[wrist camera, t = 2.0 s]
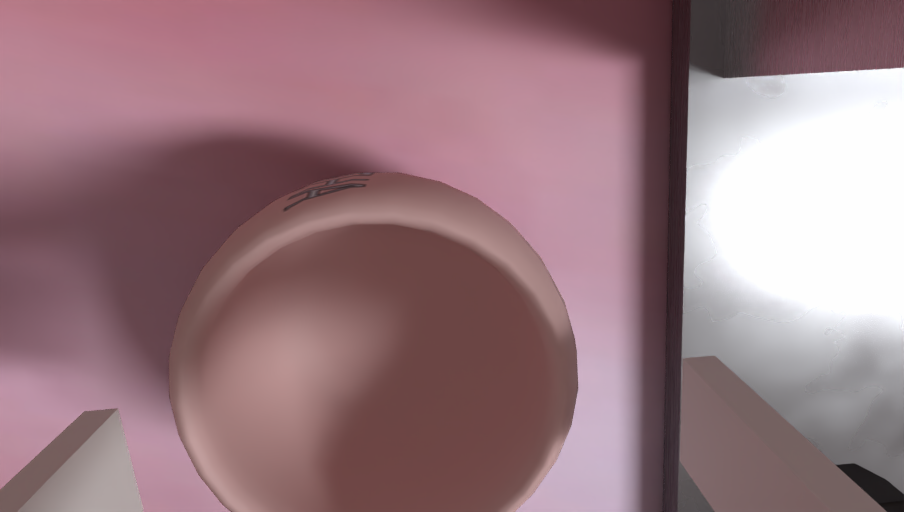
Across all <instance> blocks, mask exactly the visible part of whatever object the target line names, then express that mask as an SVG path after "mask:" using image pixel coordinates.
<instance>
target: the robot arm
mask: <svg viewBox="0 0 904 512" xmlns="http://www.w3.org/2000/svg"><path fill="white" fill-rule="evenodd" d="M680 462H681V464H682V465H683V466H684V468H685V469H686V471H687V472H688V474H689V475H690V477H691V478H692V479H693V481H694V482H695V484H696V485H697V487H698V488H699V490H700V491H701V492H702V494H703V495H704V497H705V498H706V500H707V501H708V503H709V504H710V506H711V507H712V508H713V510H714V511H715V512H904V494H903V493H902V492H900V491H899V490H898V489H897V488H896V487H895V486H893V485H892V484H891V483H890V482H889V481H887V480H886V479H884V478H882V477H880V476H878V475H876V474H875V473H873V472H871V471H869V470H867V469H865V468H863V467H861V466H859V465H857V464H855V463H851V464H840V465H835V464H834V463H833V462H832V461H831V460H829V459H828V458H827V457H826V456H825V455H824V454H823V453H822V452H821V451H820V450H818V449H817V448H816V447H815V446H814V445H813V444H812V443H811V442H810V441H808V440H807V439H806V438H805V437H804V436H803V435H802V434H801V433H800V432H799V431H797V430H796V429H795V428H794V427H793V426H792V425H791V424H790V423H789V422H788V421H786V420H785V419H784V418H783V417H782V416H781V415H780V414H779V413H778V412H777V411H775V410H774V409H773V408H772V407H771V406H770V405H769V404H768V403H767V402H766V401H764V400H763V399H762V398H761V397H760V396H759V395H758V394H757V393H756V392H755V391H753V390H752V389H751V388H750V387H749V386H748V385H747V384H746V383H745V382H744V381H742V380H741V379H740V378H739V377H738V376H737V375H736V374H735V373H734V372H733V371H731V370H730V369H729V368H728V367H727V366H726V365H725V364H724V363H723V362H721V361H720V360H719V359H718V358H717V357H716V356H704V357H692V358H683V362H682V397H681V432H680ZM0 512H143V506H142V502H141V498H140V494H139V490H138V486H137V482H136V478H135V474H134V470H133V466H132V462H131V458H130V454H129V450H128V446H127V442H126V438H125V434H124V430H123V426H122V422H121V418H120V414H119V410H118V409H106V410H95V411H84V412H83V413H82V414H81V415H80V416H79V417H78V418H77V419H76V420H75V421H74V422H73V423H71V424H70V425H69V426H68V427H67V428H66V429H65V430H64V431H63V432H62V433H61V434H60V435H59V436H57V437H56V438H55V439H54V440H53V441H52V442H51V443H50V444H49V445H48V446H47V447H46V448H45V449H44V450H42V451H41V452H40V453H39V454H38V455H37V456H36V457H35V458H34V459H33V460H32V461H31V462H30V463H28V464H27V465H26V466H25V467H24V468H23V469H22V470H21V471H20V472H19V473H18V474H17V475H16V476H14V477H13V478H12V479H11V480H10V481H9V482H8V483H7V484H6V485H5V486H4V487H3V488H2V489H1V490H0Z"/></svg>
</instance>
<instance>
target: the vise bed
mask: <svg viewBox="0 0 904 512" xmlns="http://www.w3.org/2000/svg"><path fill="white" fill-rule="evenodd" d="M704 356H716V357H717V358H718V359H719V360H720V361H721V362H723V363H724V364H725V365H726V366H727V367H728V368H729V369H730V370H731V371H733V372H734V373H735V374H736V375H737V376H738V377H739V378H740V379H741V380H742V381H744V382H745V383H746V384H747V385H748V386H749V387H750V388H751V389H752V390H753V391H755V392H756V393H757V394H758V395H759V396H760V397H761V398H762V399H763V400H764V401H766V402H767V403H768V404H769V405H770V406H771V407H772V408H773V409H774V410H775V411H777V412H778V413H779V414H780V415H781V416H782V417H783V418H784V419H785V420H786V421H788V422H789V423H790V424H791V425H792V426H793V427H794V428H795V429H796V430H797V431H799V432H800V433H801V434H802V435H803V436H804V437H805V438H806V439H807V440H808V441H810V442H811V443H812V444H813V445H814V446H815V447H816V448H817V449H818V450H820V451H821V452H822V453H823V454H824V455H825V456H826V457H827V458H828V459H829V460H831V461H832V462H833V463H834V464H835V465H840V464H851V463H855V464H857V465H859V466H861V467H863V468H865V469H867V470H869V471H871V472H873V473H875V474H876V475H878V476H880V477H882V478H884V479H886V480H887V481H889V482H890V483H891V484H892V485H893V486H895V487H896V488H897V489H898V490H899V491H900V492H902V493H903V494H904V0H673V18H672V70H671V123H670V176H669V228H668V281H667V333H666V386H665V439H664V491H663V512H715V511H714V510H713V508H712V507H711V506H710V504H709V503H708V501H707V500H706V498H705V497H704V495H703V494H702V492H701V491H700V490H699V488H698V487H697V485H696V484H695V482H694V481H693V479H692V478H691V477H690V475H689V474H688V472H687V471H686V469H685V468H684V466H683V465H682V464H681V462H680V432H681V397H682V362H683V358H692V357H704Z"/></svg>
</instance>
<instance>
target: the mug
mask: <svg viewBox="0 0 904 512" xmlns="http://www.w3.org/2000/svg"><path fill="white" fill-rule="evenodd" d="M577 392H578V373H577V350H576V344H575V338H574V334H573V331H572V327H571V323H570V320H569V316H568V313H567V309H566V305H565V302H564V300H563V298H562V296H561V294H560V292H559V290H558V288H557V287H556V285H555V283H554V281H553V279H552V277H551V275H550V274H549V272H548V270H547V268H546V266H545V264H544V263H543V261H542V259H541V257H540V256H539V255H538V254H537V253H536V251H535V250H534V249H533V248H532V247H531V246H530V245H529V243H528V242H527V241H526V240H525V239H524V238H523V237H522V235H521V234H520V233H519V232H518V231H517V230H516V229H515V227H514V226H513V225H512V224H511V223H510V222H509V221H507V220H506V219H505V218H503V217H502V216H501V215H499V214H498V213H497V212H495V211H494V210H492V209H491V208H490V207H488V206H487V205H486V204H484V203H483V202H482V201H480V200H479V199H478V198H476V197H473V196H471V195H469V194H467V193H465V192H462V191H460V190H458V189H456V188H453V187H451V186H449V185H447V184H444V183H442V182H440V181H435V180H431V179H426V178H421V177H417V176H412V175H407V174H403V173H354V174H349V175H344V176H340V177H335V178H330V179H325V180H321V181H316V182H314V183H312V184H310V185H307V186H305V187H303V188H301V189H299V190H296V191H294V192H292V193H290V194H287V195H285V196H283V197H281V198H279V199H277V200H275V201H273V202H272V203H270V204H269V205H268V206H266V207H265V208H264V209H262V210H261V211H260V212H258V213H257V214H256V215H254V216H253V217H252V218H250V219H249V220H248V221H246V222H245V223H243V224H242V225H241V226H239V227H238V228H237V229H236V230H235V231H234V232H233V233H232V234H231V235H230V237H229V238H228V239H227V240H226V241H225V242H224V244H223V245H222V246H221V247H220V248H219V250H218V251H217V252H216V253H215V254H214V255H213V257H212V258H211V259H210V260H209V261H208V262H207V264H206V265H205V266H204V267H203V268H202V270H201V272H200V274H199V276H198V278H197V280H196V282H195V284H194V286H193V288H192V290H191V292H190V294H189V296H188V298H187V300H186V302H185V303H184V305H183V308H182V310H181V312H180V314H179V317H178V321H177V325H176V329H175V333H174V338H173V342H172V346H171V350H170V354H169V397H170V402H171V406H172V410H173V414H174V418H175V422H176V426H177V430H178V435H179V437H180V439H181V441H182V443H183V445H184V447H185V449H186V451H187V453H188V455H189V457H190V459H191V461H192V463H193V465H194V467H195V469H196V471H197V473H198V475H199V476H200V477H201V479H202V480H203V481H204V482H205V484H206V485H207V486H208V487H209V489H210V490H211V491H212V492H213V493H214V495H215V496H216V497H217V498H218V500H219V501H220V502H221V503H222V505H224V506H225V507H226V508H227V509H228V510H230V511H231V512H515V511H516V510H517V509H518V508H519V507H520V506H521V505H522V504H523V503H524V502H525V501H526V500H527V499H528V498H530V497H531V496H532V494H533V493H534V492H535V490H536V489H537V487H538V486H539V485H540V483H541V482H542V480H543V479H544V477H545V476H546V475H547V473H548V472H549V470H550V469H551V467H552V466H553V465H554V463H555V462H556V460H557V458H558V456H559V453H560V451H561V449H562V446H563V444H564V442H565V439H566V437H567V435H568V432H569V430H570V427H571V425H572V419H573V414H574V408H575V403H576V397H577Z"/></svg>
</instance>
